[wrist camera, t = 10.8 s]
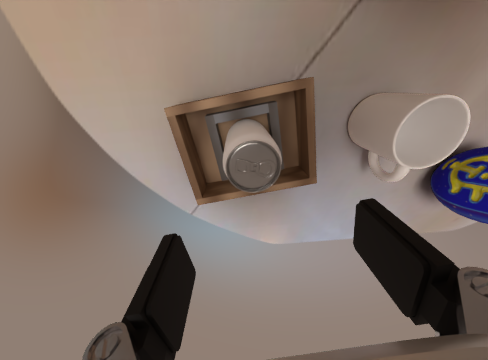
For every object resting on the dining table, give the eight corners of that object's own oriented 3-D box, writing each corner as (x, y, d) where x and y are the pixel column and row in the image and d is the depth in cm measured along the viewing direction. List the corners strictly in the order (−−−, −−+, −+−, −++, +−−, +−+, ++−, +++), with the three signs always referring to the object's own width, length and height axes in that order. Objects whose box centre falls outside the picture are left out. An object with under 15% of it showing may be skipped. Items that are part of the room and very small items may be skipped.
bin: (298, 79, 28) (313, 76, 22) (303, 167, 34) (316, 182, 28) (177, 104, 28) (163, 108, 23) (203, 186, 34) (197, 205, 29)
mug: (383, 165, 34) (438, 194, 25) (337, 167, 34) (376, 197, 25) (405, 91, 29) (485, 93, 20) (351, 93, 29) (407, 96, 19)
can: (263, 161, 32) (278, 199, 21) (224, 157, 31) (218, 193, 20) (271, 121, 29) (292, 140, 18) (228, 115, 28) (224, 131, 18)
